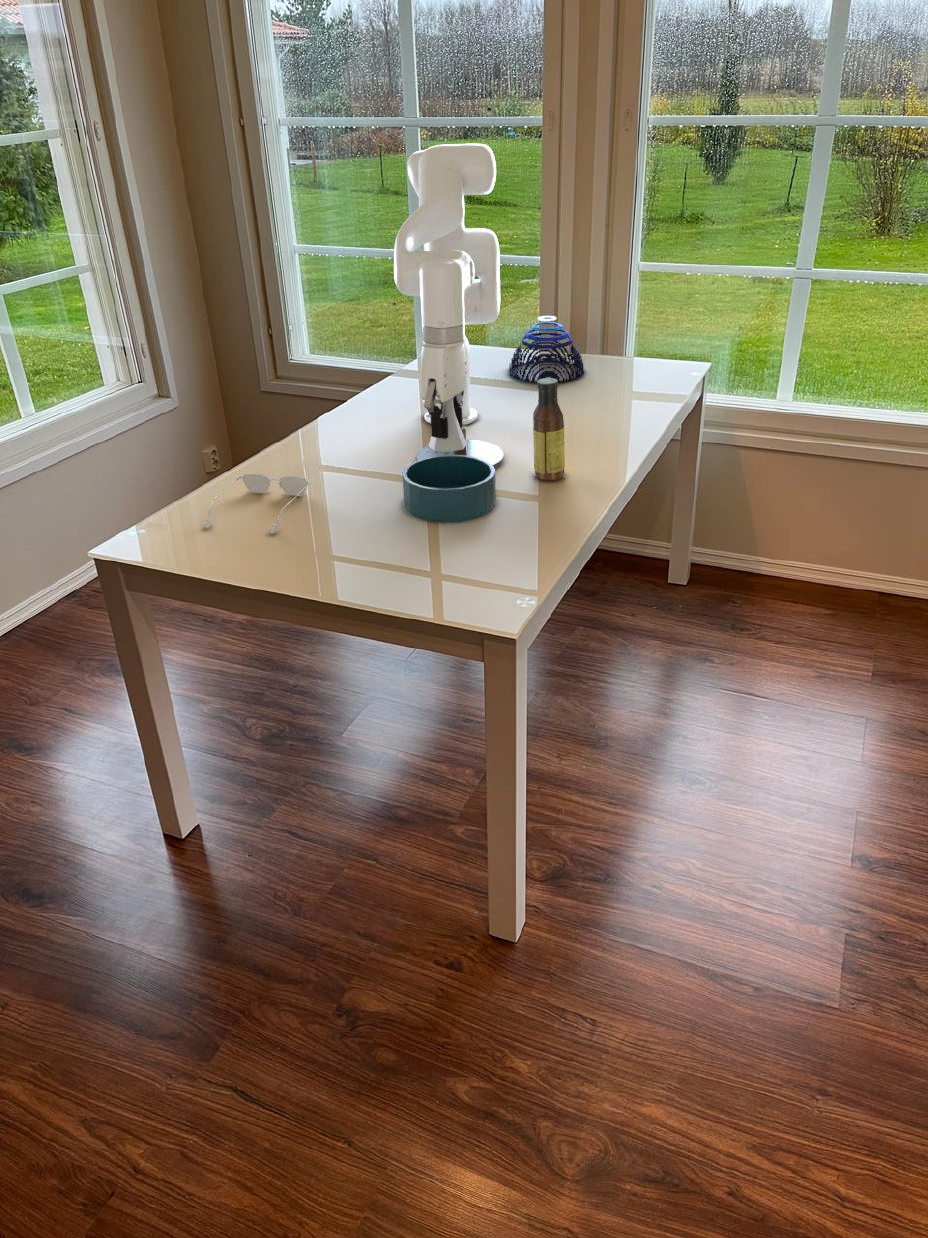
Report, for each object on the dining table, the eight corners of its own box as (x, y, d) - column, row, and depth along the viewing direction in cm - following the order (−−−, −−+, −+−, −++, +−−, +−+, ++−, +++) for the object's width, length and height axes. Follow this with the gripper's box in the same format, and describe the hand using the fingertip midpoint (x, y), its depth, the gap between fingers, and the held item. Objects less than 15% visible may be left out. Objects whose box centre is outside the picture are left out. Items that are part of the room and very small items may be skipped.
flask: (427, 440, 181) (425, 389, 176) (465, 438, 181) (463, 387, 176) (429, 454, 175) (427, 401, 169) (468, 452, 175) (467, 399, 170)
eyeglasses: (313, 495, 189) (311, 477, 186) (278, 534, 173) (275, 515, 171) (241, 490, 192) (238, 472, 190) (200, 528, 177) (197, 509, 175)
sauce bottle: (567, 472, 196) (570, 376, 185) (560, 483, 191) (562, 386, 180) (536, 468, 198) (538, 374, 187) (528, 480, 193) (529, 383, 182)
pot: (385, 503, 184) (383, 472, 181) (451, 478, 195) (450, 448, 191) (447, 530, 173) (446, 497, 170) (513, 501, 183) (514, 470, 180)
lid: (399, 461, 203) (397, 428, 200) (461, 438, 214) (460, 407, 211) (458, 484, 192) (457, 450, 188) (521, 458, 203) (521, 426, 199)
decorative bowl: (587, 382, 248) (589, 326, 240) (510, 384, 248) (510, 328, 241) (580, 361, 265) (582, 308, 257) (508, 362, 265) (508, 310, 258)
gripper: (446, 320, 175) (450, 415, 185) (401, 343, 162) (407, 444, 171) (483, 324, 172) (484, 420, 182) (440, 347, 159) (444, 450, 169)
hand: (447, 431), depth 176 cm, fingers closed on flask, 5 cm apart
